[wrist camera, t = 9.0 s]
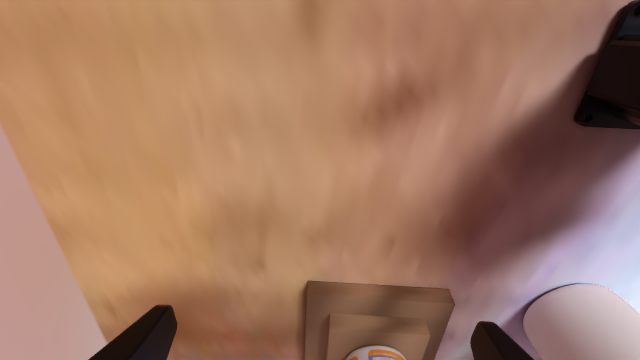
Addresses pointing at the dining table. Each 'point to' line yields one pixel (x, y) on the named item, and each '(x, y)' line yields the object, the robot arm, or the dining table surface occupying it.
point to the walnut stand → (374, 319)
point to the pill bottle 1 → (376, 353)
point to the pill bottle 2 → (583, 325)
